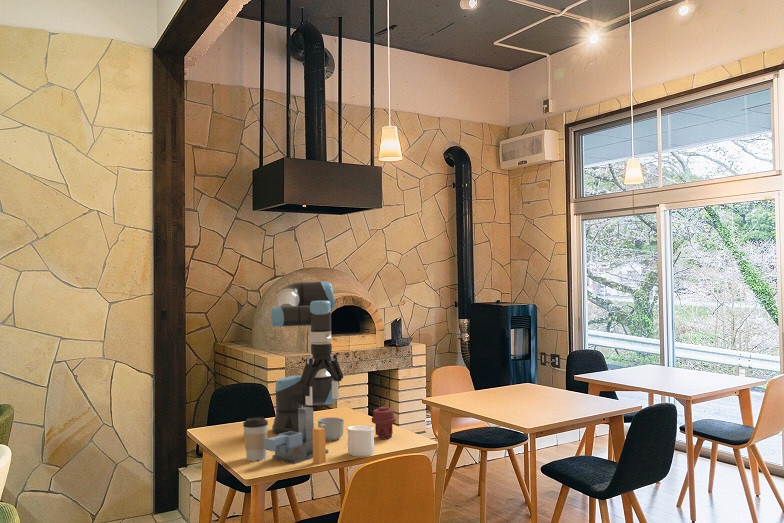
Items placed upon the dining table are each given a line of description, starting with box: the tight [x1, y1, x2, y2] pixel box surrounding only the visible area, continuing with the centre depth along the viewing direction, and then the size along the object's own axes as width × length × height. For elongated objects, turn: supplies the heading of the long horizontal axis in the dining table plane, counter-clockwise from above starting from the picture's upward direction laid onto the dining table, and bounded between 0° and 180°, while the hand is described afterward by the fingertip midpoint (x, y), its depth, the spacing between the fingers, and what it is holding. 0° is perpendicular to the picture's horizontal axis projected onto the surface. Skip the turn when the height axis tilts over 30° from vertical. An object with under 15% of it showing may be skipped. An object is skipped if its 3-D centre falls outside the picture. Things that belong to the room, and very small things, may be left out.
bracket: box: [265, 431, 302, 454], centre depth 232 cm, size 6×13×6 cm, turn 141°
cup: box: [346, 424, 375, 457], centre depth 240 cm, size 10×10×10 cm
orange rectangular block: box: [312, 426, 327, 465], centre depth 230 cm, size 3×3×12 cm
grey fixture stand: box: [272, 406, 329, 465], centre depth 239 cm, size 12×17×17 cm
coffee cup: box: [242, 416, 269, 462], centre depth 237 cm, size 9×9×15 cm
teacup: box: [317, 416, 345, 442], centre depth 262 cm, size 14×11×8 cm
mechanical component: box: [371, 406, 397, 440], centre depth 263 cm, size 12×10×10 cm
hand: (322, 402), depth 232 cm, fingers open, 13 cm apart
